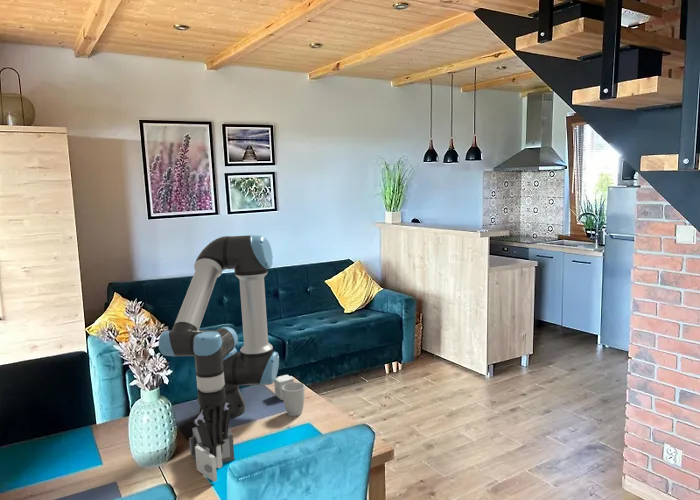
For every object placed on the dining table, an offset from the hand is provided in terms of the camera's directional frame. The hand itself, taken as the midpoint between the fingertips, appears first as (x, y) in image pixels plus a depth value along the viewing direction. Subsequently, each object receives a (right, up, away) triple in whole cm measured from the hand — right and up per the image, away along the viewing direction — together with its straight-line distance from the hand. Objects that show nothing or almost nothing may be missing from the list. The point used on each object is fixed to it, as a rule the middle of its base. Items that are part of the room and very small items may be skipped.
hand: (217, 466), depth 149 cm
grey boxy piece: (-4, -1, +11) cm, 11 cm away
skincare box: (+12, +4, +55) cm, 56 cm away
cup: (+18, +3, +39) cm, 43 cm away
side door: (-3, -2, -1) cm, 4 cm away
